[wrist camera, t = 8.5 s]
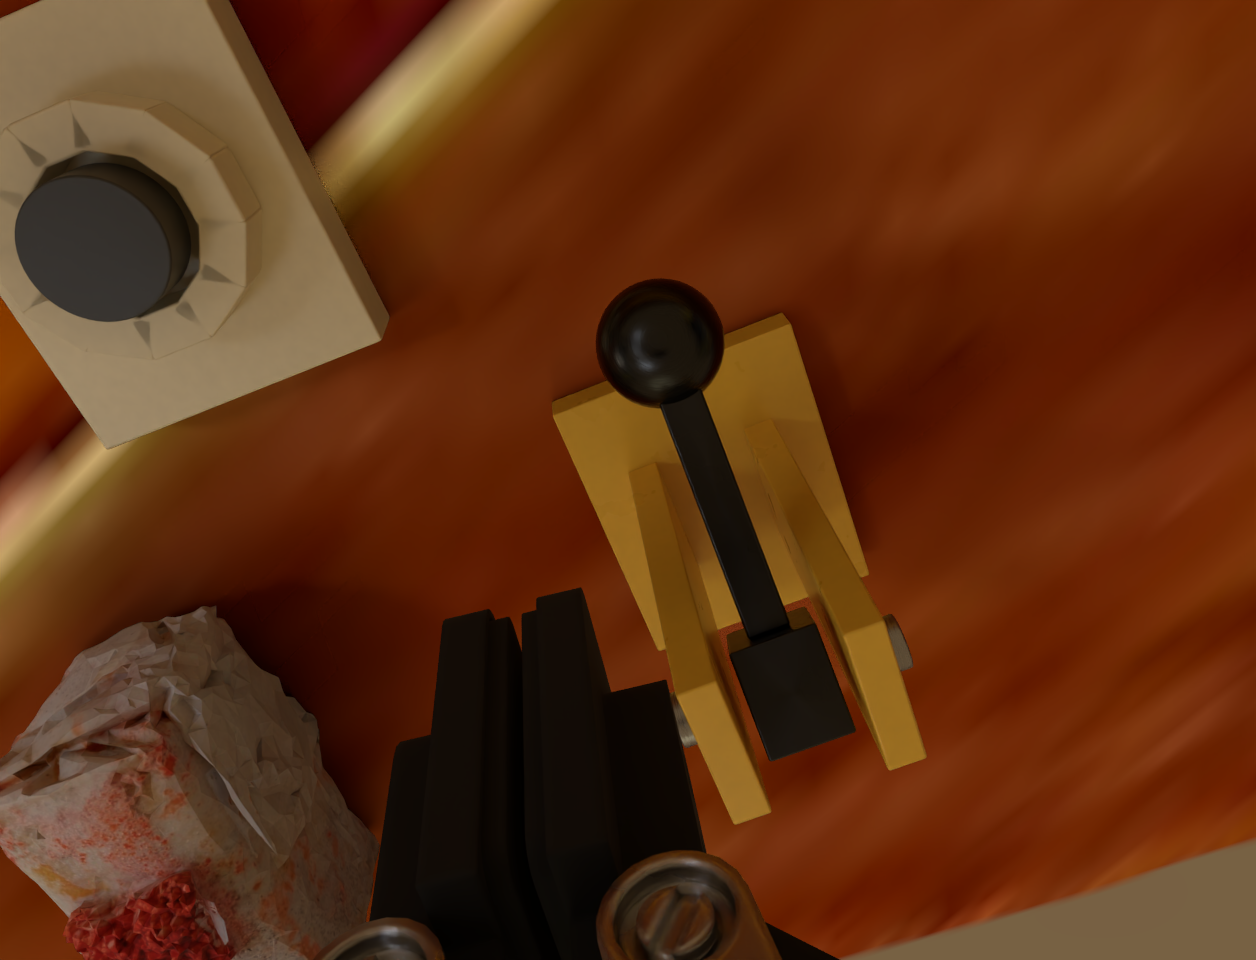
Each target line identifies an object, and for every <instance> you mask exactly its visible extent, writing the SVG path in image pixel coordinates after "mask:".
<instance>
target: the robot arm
mask: <svg viewBox="0 0 1256 960" xmlns="http://www.w3.org/2000/svg"><path fill="white" fill-rule="evenodd" d="M536 608H537V610H535V611H531V612H527V613H523V614H522V651H521V648H520V645H519V642H518V639H517V635H516V632H515V629H514V626H513V624H512V621H511V619H510V618H509V617H506V618H501V619H497V620H495V618H494V616H493V614H492V612H491V611H490V610H489V609H487V610H483V611H479V612H474V613H470V614H466V615H462V616H457V617H453V618H449V619H445V620H444V621H443V625H442V634H441V644H440V653H439V663H438V672H437V682H436V692H435V701H434V711H433V720H432V730H431V735H428V736H424V737H419V738H415V739H411V740H407V741H402V742H400V743H399V744H398V745H397V746H396V750H395V754H394V759H393V766H392V772H391V779H390V786H389V793H388V799H387V806H386V813H385V820H384V826H383V833H382V840H381V847H380V853H379V860H378V867H377V873H376V880H375V887H374V894H373V900H372V907H371V914H370V921H369V922H366V923H363V924H361V925H359V926H357V927H355V928H353V929H351V930H349V931H347V932H345V933H343V934H341V935H339V936H338V937H337V938H336V939H334V940H333V941H332V942H331V943H329V944H328V945H327V946H325V947H324V948H323V949H322V950H320V952H319V953H318V954H317V955H316V956H315V957H314V959H313V960H839V959H837V958H835V957H833V956H831V955H829V954H827V953H825V952H823V951H821V950H819V949H817V948H815V947H813V946H811V945H809V944H807V943H805V942H804V941H802V940H800V939H798V938H796V937H794V936H792V935H790V934H788V933H786V932H784V931H782V930H780V929H778V928H776V927H774V926H772V925H770V924H768V923H766V922H765V921H764V919H763V917H762V915H761V912H760V910H759V908H758V906H757V904H756V902H755V899H754V897H753V895H752V893H751V891H750V889H749V886H748V885H747V883H746V882H745V881H744V879H743V878H742V876H741V875H740V874H739V872H738V871H737V869H735V868H734V867H732V866H731V865H730V864H728V863H727V862H725V861H724V860H722V859H721V858H720V857H717V856H713V855H710V854H707V853H706V849H705V844H704V840H703V835H702V830H701V826H700V821H699V817H698V812H697V808H696V803H695V799H694V794H693V790H692V785H691V781H690V776H689V772H688V768H687V763H686V759H685V755H684V751H683V746H682V742H681V738H680V734H679V730H678V725H677V721H676V717H675V713H674V709H673V705H672V701H671V697H670V693H669V689H668V685H667V681H666V680H662V681H658V682H654V683H650V684H645V685H641V686H637V687H633V688H628V689H624V690H620V691H616V692H611V690H610V686H609V683H608V679H607V675H606V672H605V668H604V665H603V661H602V657H601V654H600V650H599V647H598V643H597V639H596V636H595V632H594V629H593V625H592V621H591V618H590V614H589V610H588V607H587V603H586V600H585V596H584V593H583V591H582V589H581V588H576V589H572V590H568V591H564V592H559V593H555V594H551V595H547V596H542V597H538V598H537V600H536Z"/></svg>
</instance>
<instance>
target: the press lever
mask: <svg viewBox="0 0 1256 960" xmlns="http://www.w3.org/2000/svg"><path fill="white" fill-rule="evenodd" d="M724 349H725V337H724V331H723V326H722V323H721V320H720V318H719V316H718V314H717V312H716V310H715V308H714V307H713V305H712V304H711V303H710V301H709V300H708V299H707V298H706V297H705V296H704V295H703V294H702V293H701V292H699V291H698V290H696V289H695V288H693V287H691V286H689V285H688V284H685V283H683V282H680V281H676V280H672V279H662V278H661V279H650V280H645V281H642V282H638V283H636V284H634V285H632V286H629V287H628V288H626V289H625V290H623V291H622V292H621V293H619V294H618V295H617V296H616V297H615V298H614V299H613V300H612V301H611V302H610V304H609V305H608V307H607V308H606V309H605V311H604V313H603V315H602V317H601V320H600V322H599V325H598V329H597V334H596V353H597V359H598V362H599V365H600V368H601V370H602V372H603V375H604V376H605V378H606V379H607V381H608V383H609V384H610V385H611V386H612V387H613V389H614V390H616V391H617V392H618V393H619V394H620V395H621V396H623V397H624V398H626V399H627V400H629V401H631V402H633V403H635V404H638V405H640V406H644V407H648V408H657V409H661V411H662V414H663V416H664V419H665V422H666V424H667V427H668V429H669V432H670V435H671V437H672V440H673V443H674V445H675V448H676V450H677V453H678V456H679V458H680V461H681V464H682V466H683V469H684V471H685V474H686V477H687V479H688V482H689V485H690V487H691V490H692V493H693V495H694V498H695V500H696V503H697V506H698V508H699V511H700V514H701V516H702V519H703V521H704V524H705V527H706V529H707V532H708V535H709V537H710V540H711V542H712V545H713V548H714V550H715V553H716V556H717V558H718V561H719V563H720V566H721V569H722V571H723V574H724V577H725V579H726V582H727V584H728V587H729V590H730V592H731V595H732V598H733V600H734V603H735V605H736V608H737V611H738V613H739V616H740V619H741V621H742V624H743V627H744V629H741V630H738V631H735V632H733V633H730V634H728V635H727V643H728V650H729V656H730V659H731V662H732V664H733V667H734V669H735V672H736V675H737V677H738V680H739V683H740V685H741V688H742V690H743V693H744V696H745V698H746V701H747V704H748V706H749V709H750V711H751V714H752V717H753V719H754V722H755V725H756V727H757V730H758V732H759V735H760V738H761V740H762V743H763V746H764V748H765V751H766V753H767V756H768V759H769V760H770V761H775V760H777V759H780V758H783V757H786V756H789V755H792V754H794V753H797V752H800V751H803V750H806V749H809V748H811V747H814V746H817V745H820V744H823V743H826V742H828V741H831V740H834V739H837V738H840V737H843V736H845V735H848V734H851V733H854V732H855V731H856V728H855V726H854V723H853V720H852V718H851V715H850V712H849V710H848V707H847V705H846V702H845V699H844V697H843V694H842V691H841V689H840V686H839V683H838V681H837V678H836V675H835V673H834V670H833V668H832V665H831V662H830V660H829V657H828V654H827V652H826V649H825V646H824V644H823V641H822V639H821V636H820V633H819V631H818V628H817V625H816V624H815V622H814V620H813V619H812V617H811V615H810V614H809V612H808V611H807V609H806V608H805V607H801V608H798V609H796V610H793V611H790V612H787V613H786V611H785V608H784V605H783V603H782V600H781V598H780V595H779V592H778V590H777V587H776V584H775V582H774V579H773V576H772V574H771V571H770V569H769V566H768V563H767V561H766V558H765V555H764V553H763V550H762V547H761V545H760V542H759V540H758V537H757V534H756V532H755V529H754V526H753V524H752V521H751V518H750V516H749V513H748V511H747V508H746V505H745V503H744V500H743V497H742V495H741V492H740V489H739V487H738V484H737V482H736V479H735V476H734V474H733V471H732V468H731V466H730V463H729V461H728V458H727V455H726V453H725V450H724V447H723V445H722V442H721V439H720V437H719V434H718V432H717V429H716V426H715V424H714V421H713V418H712V416H711V413H710V410H709V408H708V405H707V403H706V400H705V397H704V395H703V392H704V391H705V390H706V389H707V388H708V387H709V385H710V384H711V383H712V381H713V380H714V379H715V377H716V375H717V373H718V371H719V369H720V367H721V364H722V361H723V356H724Z"/></svg>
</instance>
